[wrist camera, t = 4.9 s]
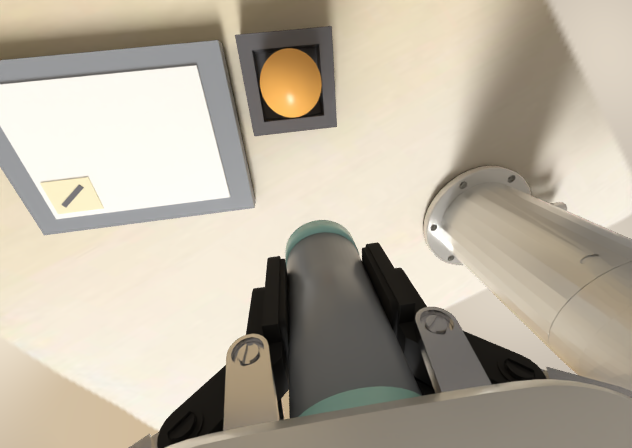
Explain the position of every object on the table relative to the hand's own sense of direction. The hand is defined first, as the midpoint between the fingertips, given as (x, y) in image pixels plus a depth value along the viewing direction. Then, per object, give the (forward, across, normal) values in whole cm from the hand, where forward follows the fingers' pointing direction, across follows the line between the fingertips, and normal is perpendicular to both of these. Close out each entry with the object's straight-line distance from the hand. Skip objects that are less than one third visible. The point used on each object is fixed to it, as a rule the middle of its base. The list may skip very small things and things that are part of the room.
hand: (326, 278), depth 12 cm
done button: (+14, 0, -8) cm, 16 cm away
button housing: (+17, 0, -8) cm, 19 cm away
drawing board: (+17, +15, -5) cm, 23 cm away
